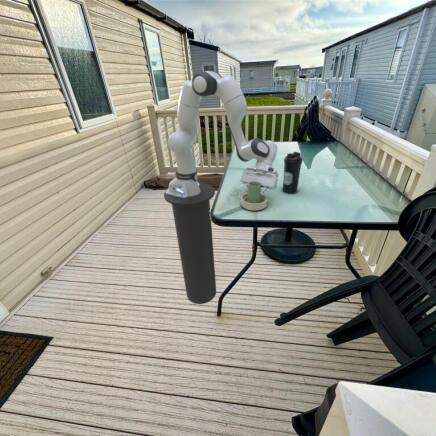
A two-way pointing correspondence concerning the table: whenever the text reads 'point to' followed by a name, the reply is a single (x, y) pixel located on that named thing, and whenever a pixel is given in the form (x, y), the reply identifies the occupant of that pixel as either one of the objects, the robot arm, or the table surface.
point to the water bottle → (291, 172)
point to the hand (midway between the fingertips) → (253, 193)
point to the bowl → (254, 206)
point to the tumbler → (254, 192)
